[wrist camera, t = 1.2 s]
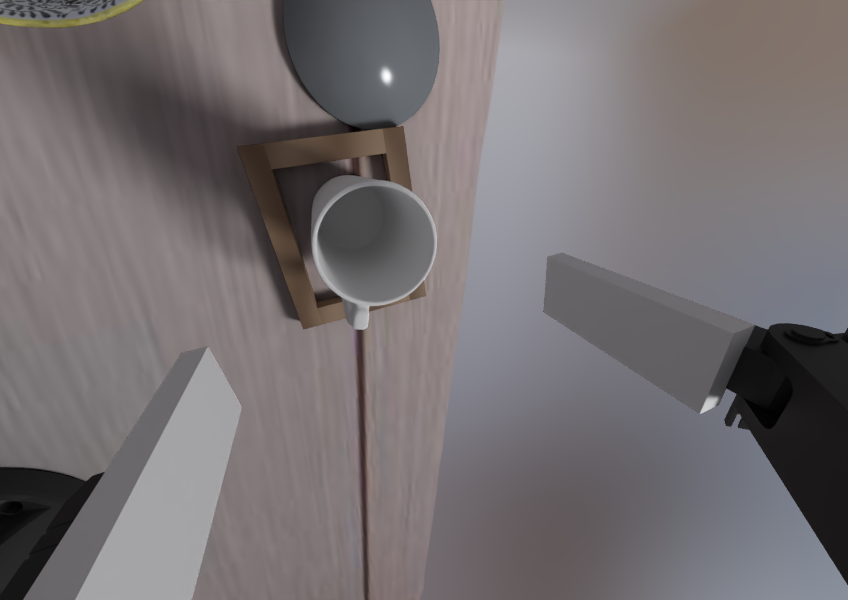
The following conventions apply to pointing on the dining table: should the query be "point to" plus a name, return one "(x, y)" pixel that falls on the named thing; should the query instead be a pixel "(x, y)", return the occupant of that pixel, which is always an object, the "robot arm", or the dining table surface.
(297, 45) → the coaster
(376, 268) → the mug
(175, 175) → the dining table surface
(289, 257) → the holder
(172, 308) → the dining table surface
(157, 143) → the dining table surface
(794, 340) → the robot arm
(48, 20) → the bowl
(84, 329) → the dining table surface
